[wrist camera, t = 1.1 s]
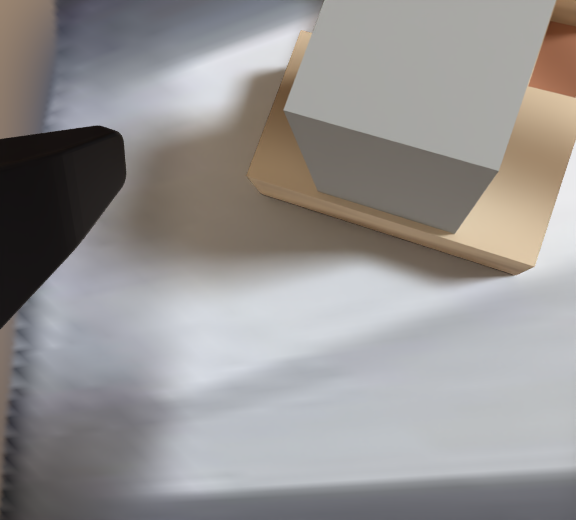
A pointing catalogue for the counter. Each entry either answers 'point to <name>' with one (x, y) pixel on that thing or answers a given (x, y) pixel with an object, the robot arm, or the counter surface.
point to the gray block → (414, 100)
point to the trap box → (501, 191)
